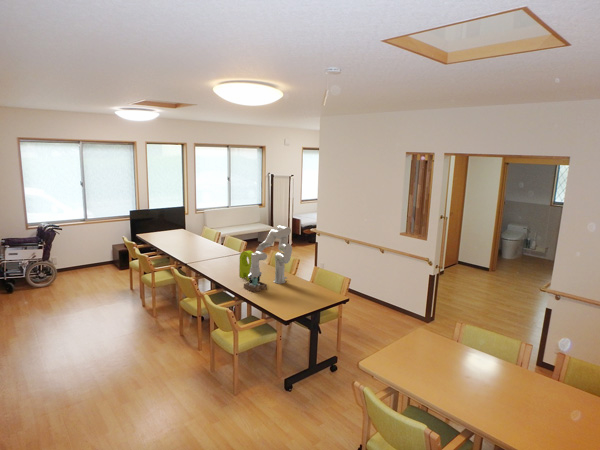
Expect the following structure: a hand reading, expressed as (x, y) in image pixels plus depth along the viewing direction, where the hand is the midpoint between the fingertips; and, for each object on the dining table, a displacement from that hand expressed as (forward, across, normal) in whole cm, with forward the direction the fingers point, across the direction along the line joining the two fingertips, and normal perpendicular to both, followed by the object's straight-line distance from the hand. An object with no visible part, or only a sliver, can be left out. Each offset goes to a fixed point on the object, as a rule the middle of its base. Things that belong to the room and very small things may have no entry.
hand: (254, 282), depth 371 cm
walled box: (+6, 0, +1) cm, 6 cm away
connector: (+6, 0, 0) cm, 6 cm away
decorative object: (+6, -14, -27) cm, 31 cm away
